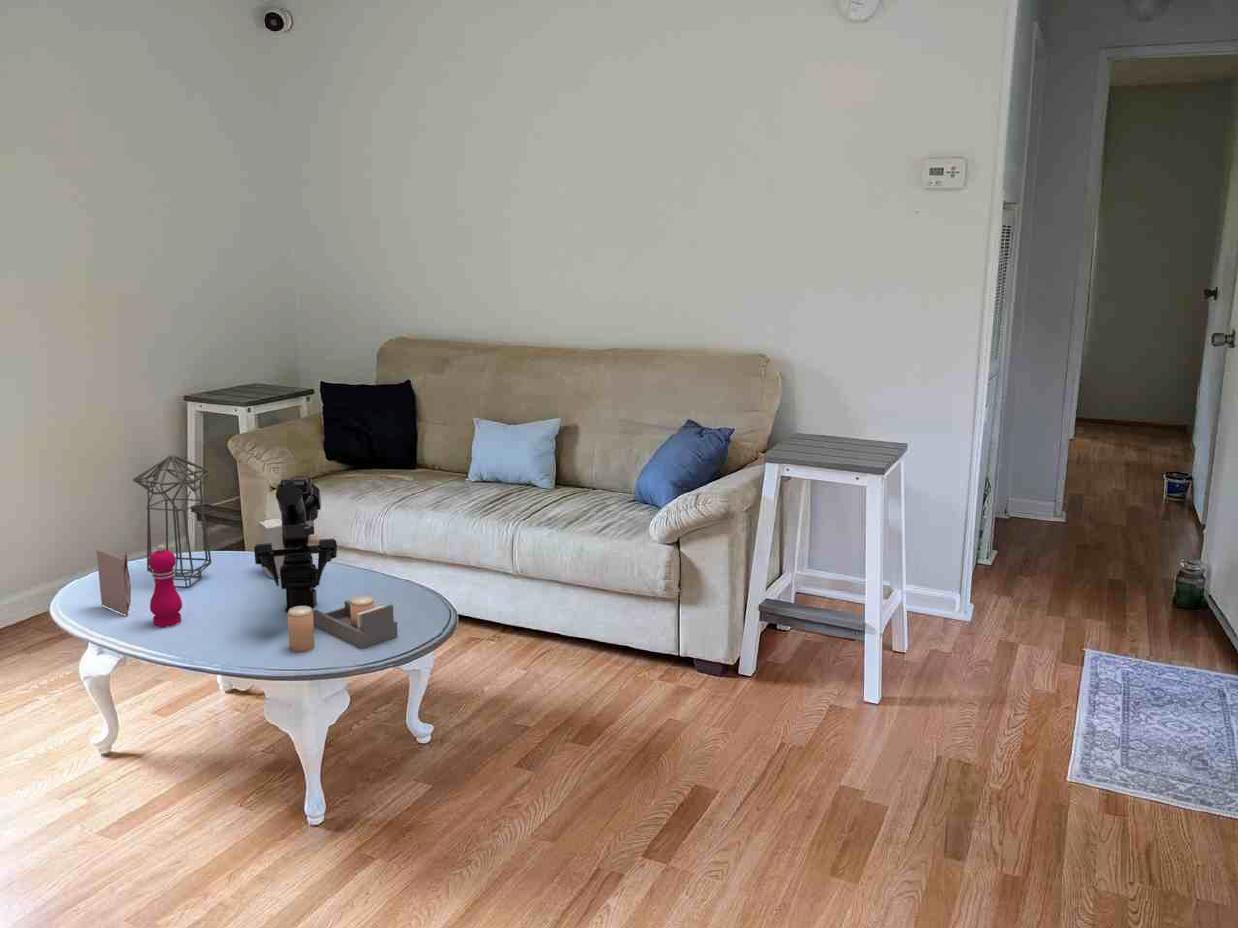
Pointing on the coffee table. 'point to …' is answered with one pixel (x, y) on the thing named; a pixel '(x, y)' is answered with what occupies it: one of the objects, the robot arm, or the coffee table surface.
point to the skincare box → (272, 540)
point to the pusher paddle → (360, 618)
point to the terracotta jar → (301, 629)
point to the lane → (374, 629)
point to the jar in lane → (360, 607)
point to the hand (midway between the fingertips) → (298, 583)
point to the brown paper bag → (114, 582)
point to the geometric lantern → (160, 467)
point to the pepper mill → (164, 589)
